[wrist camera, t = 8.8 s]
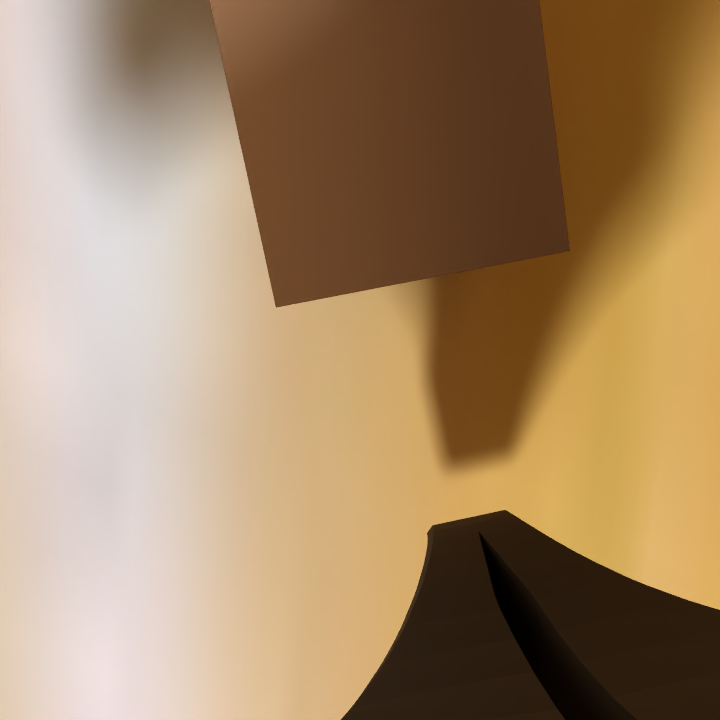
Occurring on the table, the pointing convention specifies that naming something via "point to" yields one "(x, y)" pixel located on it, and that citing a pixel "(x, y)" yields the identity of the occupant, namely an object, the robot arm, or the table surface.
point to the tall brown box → (392, 138)
